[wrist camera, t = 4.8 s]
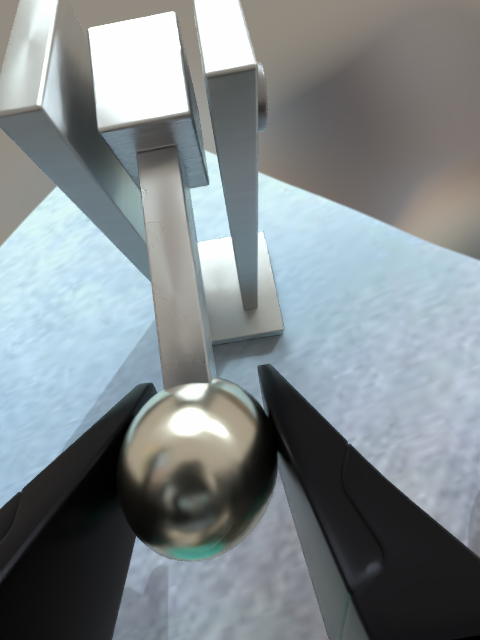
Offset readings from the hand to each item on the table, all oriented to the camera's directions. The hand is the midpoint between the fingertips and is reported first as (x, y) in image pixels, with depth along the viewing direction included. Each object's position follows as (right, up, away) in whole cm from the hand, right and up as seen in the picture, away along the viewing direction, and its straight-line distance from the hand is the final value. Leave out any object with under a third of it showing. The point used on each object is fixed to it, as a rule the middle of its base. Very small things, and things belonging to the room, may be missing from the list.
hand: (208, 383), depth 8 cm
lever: (0, +3, 0) cm, 3 cm away
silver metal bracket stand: (0, +4, +10) cm, 11 cm away
